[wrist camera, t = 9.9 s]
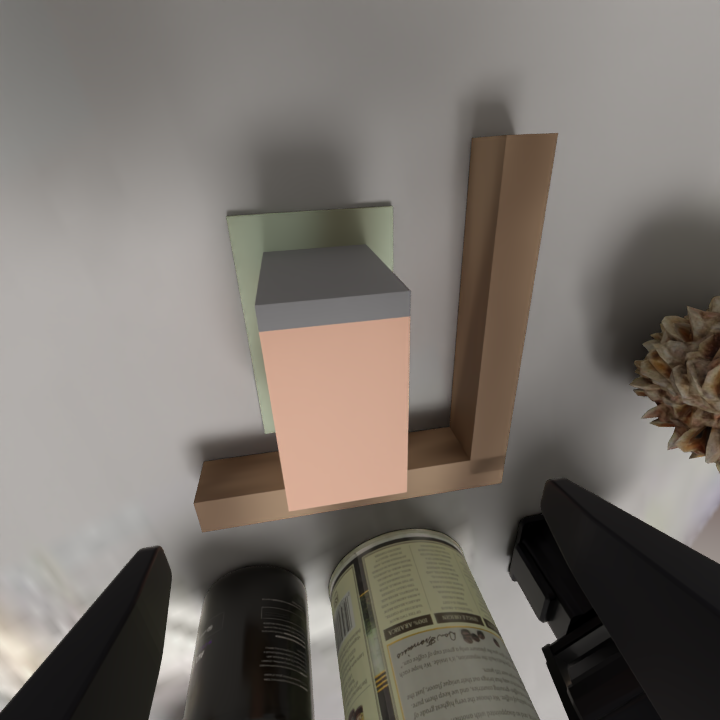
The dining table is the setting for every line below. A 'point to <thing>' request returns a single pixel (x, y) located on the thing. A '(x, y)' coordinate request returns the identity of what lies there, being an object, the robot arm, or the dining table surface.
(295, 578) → the supplement bottle
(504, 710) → the coffee can
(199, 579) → the dining table surface
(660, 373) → the pine cone
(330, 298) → the terracotta block
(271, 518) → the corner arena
